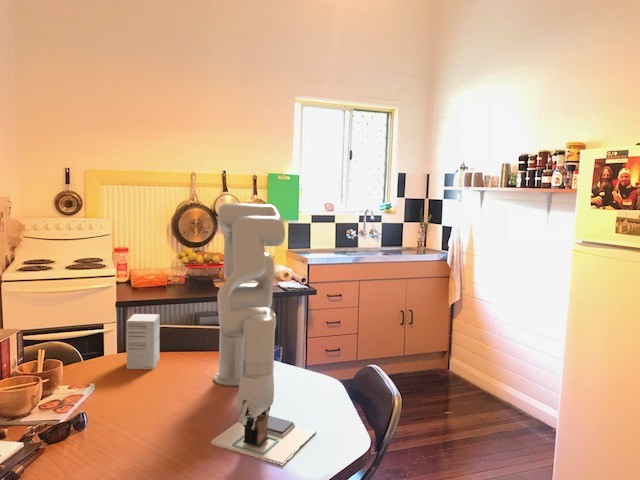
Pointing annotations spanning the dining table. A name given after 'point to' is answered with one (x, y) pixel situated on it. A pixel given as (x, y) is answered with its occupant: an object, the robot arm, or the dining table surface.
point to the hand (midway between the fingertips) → (255, 437)
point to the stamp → (260, 430)
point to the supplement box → (143, 341)
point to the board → (273, 448)
